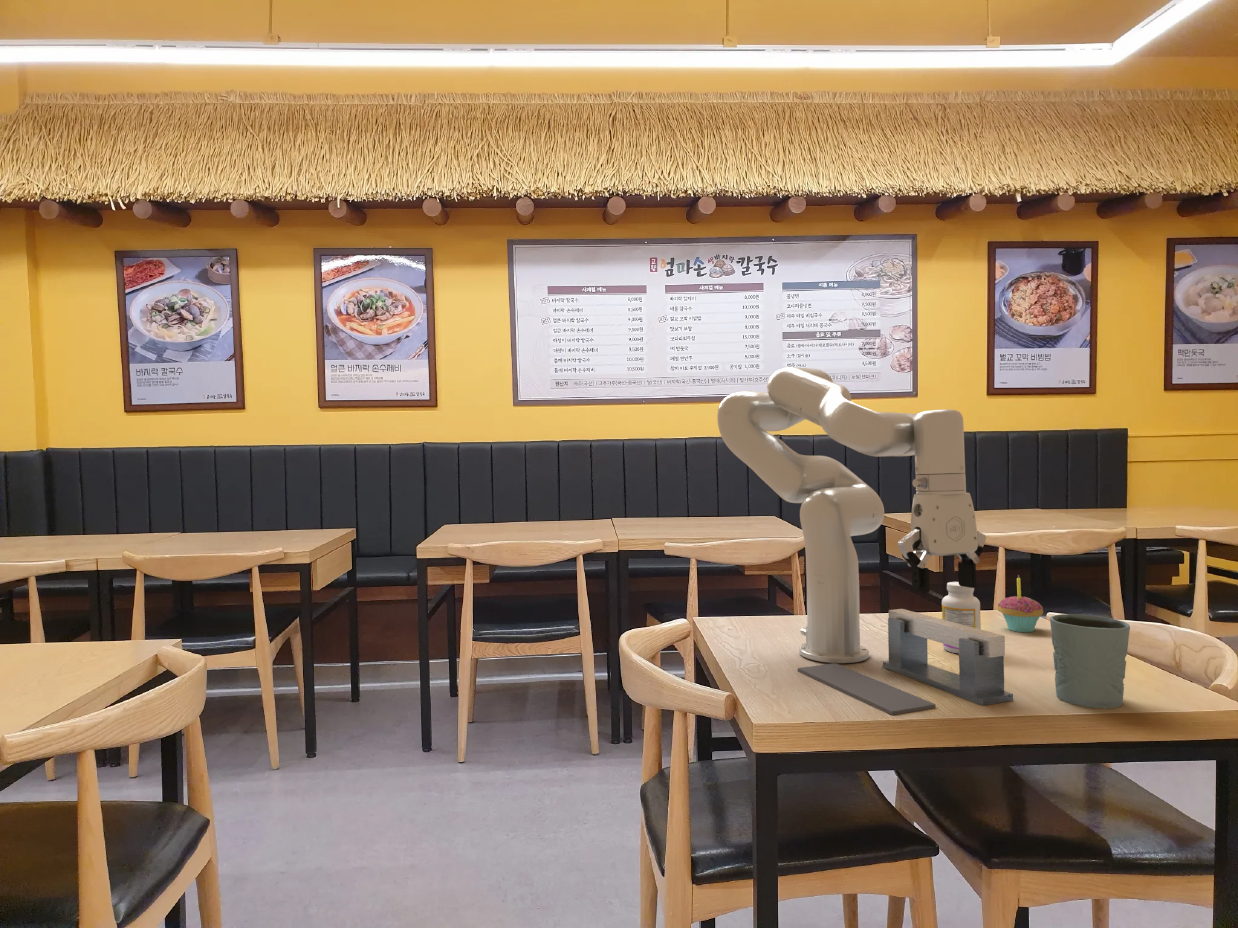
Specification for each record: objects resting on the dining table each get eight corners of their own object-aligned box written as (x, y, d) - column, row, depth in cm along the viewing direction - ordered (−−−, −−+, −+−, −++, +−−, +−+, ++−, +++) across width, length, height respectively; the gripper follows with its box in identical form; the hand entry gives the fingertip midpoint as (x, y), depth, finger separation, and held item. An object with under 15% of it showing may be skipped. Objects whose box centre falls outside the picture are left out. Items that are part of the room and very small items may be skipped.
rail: (888, 626, 130) (888, 610, 130) (902, 625, 131) (902, 608, 131) (989, 657, 109) (989, 637, 109) (1004, 655, 110) (1004, 635, 110)
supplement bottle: (956, 644, 144) (955, 579, 144) (988, 651, 138) (987, 584, 138) (935, 649, 140) (934, 583, 140) (967, 657, 135) (966, 587, 135)
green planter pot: (1035, 692, 114) (1034, 616, 114) (1086, 685, 117) (1085, 611, 117) (1094, 713, 104) (1093, 630, 104) (1148, 706, 107) (1146, 624, 107)
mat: (797, 670, 128) (797, 667, 128) (835, 665, 131) (835, 662, 131) (891, 714, 105) (891, 711, 105) (935, 707, 108) (935, 704, 108)
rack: (882, 667, 129) (881, 616, 129) (909, 663, 131) (908, 613, 131) (982, 705, 109) (981, 645, 109) (1013, 700, 111) (1012, 641, 111)
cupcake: (1042, 636, 149) (1041, 577, 149) (995, 631, 154) (994, 574, 154) (1044, 627, 156) (1043, 571, 156) (1000, 623, 161) (999, 569, 161)
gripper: (914, 487, 113) (918, 597, 113) (999, 483, 119) (1003, 588, 119) (882, 486, 120) (885, 590, 120) (963, 483, 126) (967, 582, 126)
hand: (944, 589), depth 119 cm, fingers open, 9 cm apart
